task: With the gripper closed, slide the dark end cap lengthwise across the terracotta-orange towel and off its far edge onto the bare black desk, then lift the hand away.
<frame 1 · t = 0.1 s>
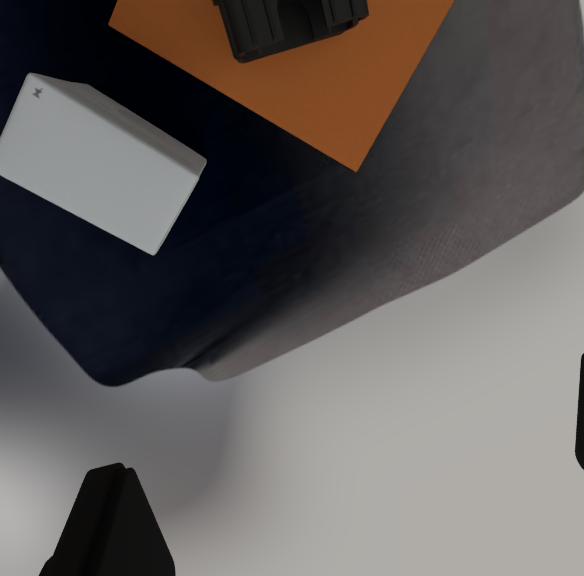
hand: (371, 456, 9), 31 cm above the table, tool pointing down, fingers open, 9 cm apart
cosmetics box: (133, 158, 35), on the table
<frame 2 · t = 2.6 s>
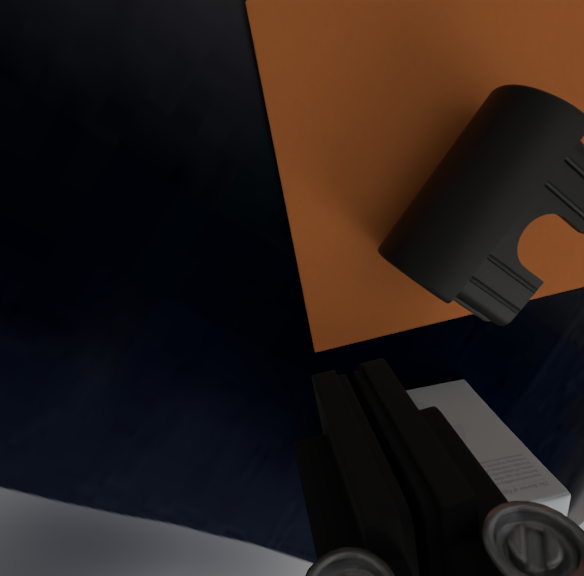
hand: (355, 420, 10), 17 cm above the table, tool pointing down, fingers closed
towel: (465, 162, 26), on the table
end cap: (451, 199, 26), resting on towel
cosmetics box: (397, 425, 32), on the table
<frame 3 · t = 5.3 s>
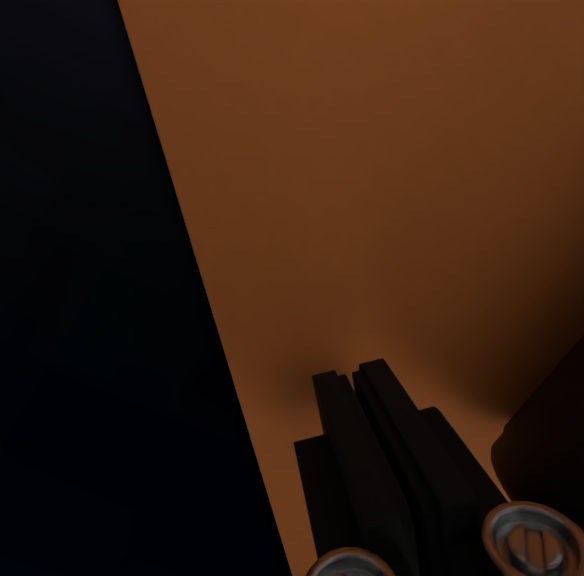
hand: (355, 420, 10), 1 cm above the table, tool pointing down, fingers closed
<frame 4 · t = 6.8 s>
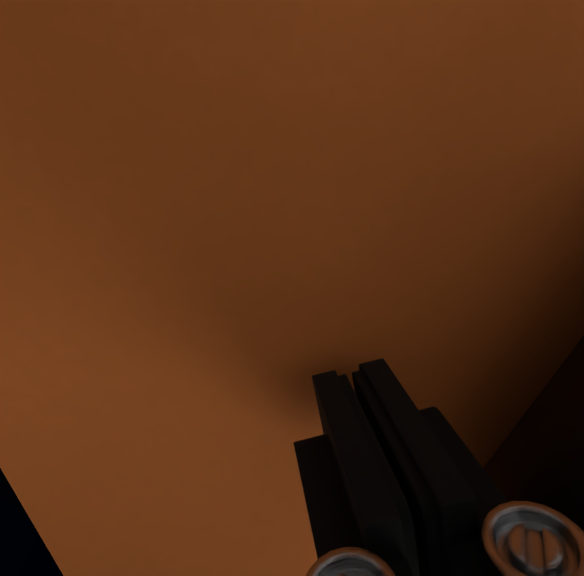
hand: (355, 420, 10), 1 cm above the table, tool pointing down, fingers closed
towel: (430, 296, 11), on the table
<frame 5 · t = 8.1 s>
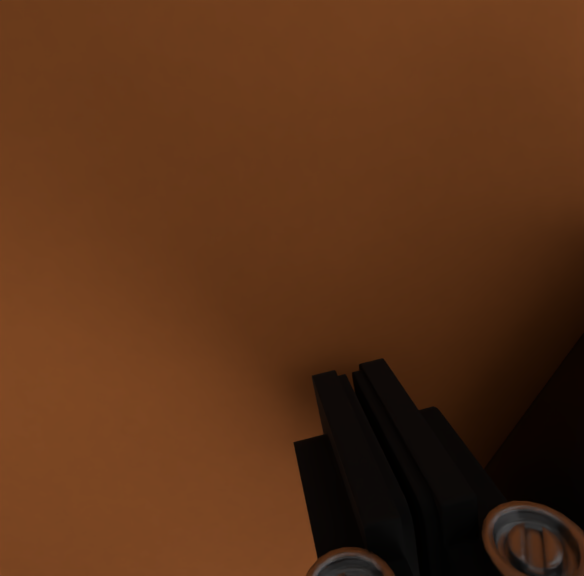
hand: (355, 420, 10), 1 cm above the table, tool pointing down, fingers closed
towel: (223, 347, 10), on the table
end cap: (561, 398, 12), resting on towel, touching gripper
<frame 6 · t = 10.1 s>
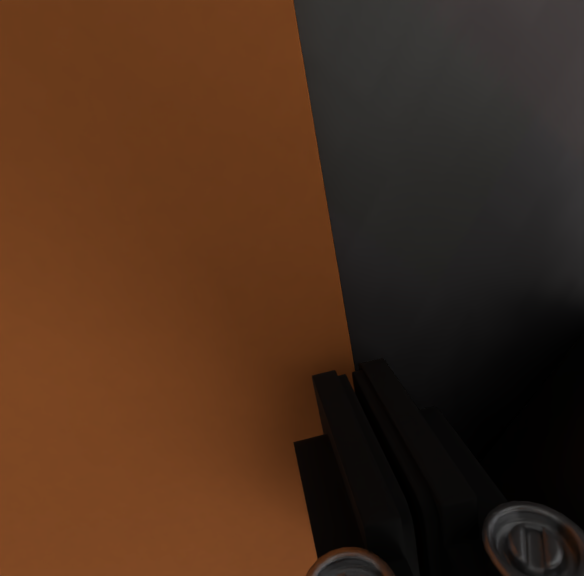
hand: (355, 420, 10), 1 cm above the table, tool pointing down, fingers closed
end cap: (513, 449, 13), on the table
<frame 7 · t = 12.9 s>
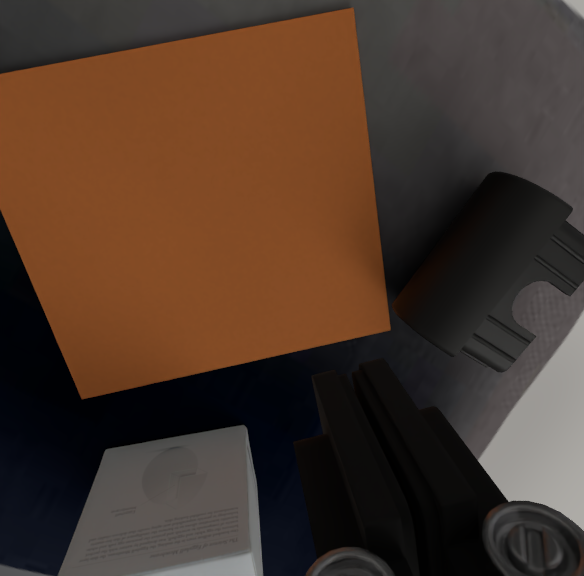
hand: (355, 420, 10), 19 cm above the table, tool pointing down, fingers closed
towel: (202, 224, 27), on the table
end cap: (456, 256, 30), on the table
cosmetics box: (185, 467, 33), on the table
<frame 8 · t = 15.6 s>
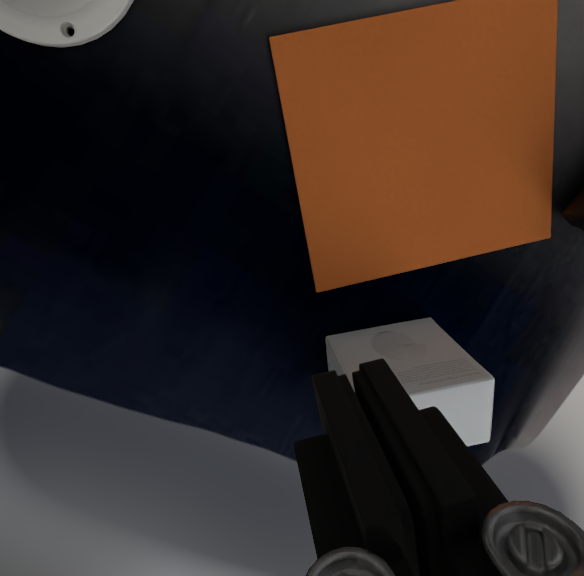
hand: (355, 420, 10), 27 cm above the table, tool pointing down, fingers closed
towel: (425, 149, 35), on the table
cosmetics box: (379, 354, 42), on the table
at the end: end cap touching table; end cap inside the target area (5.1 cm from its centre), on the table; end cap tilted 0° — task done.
